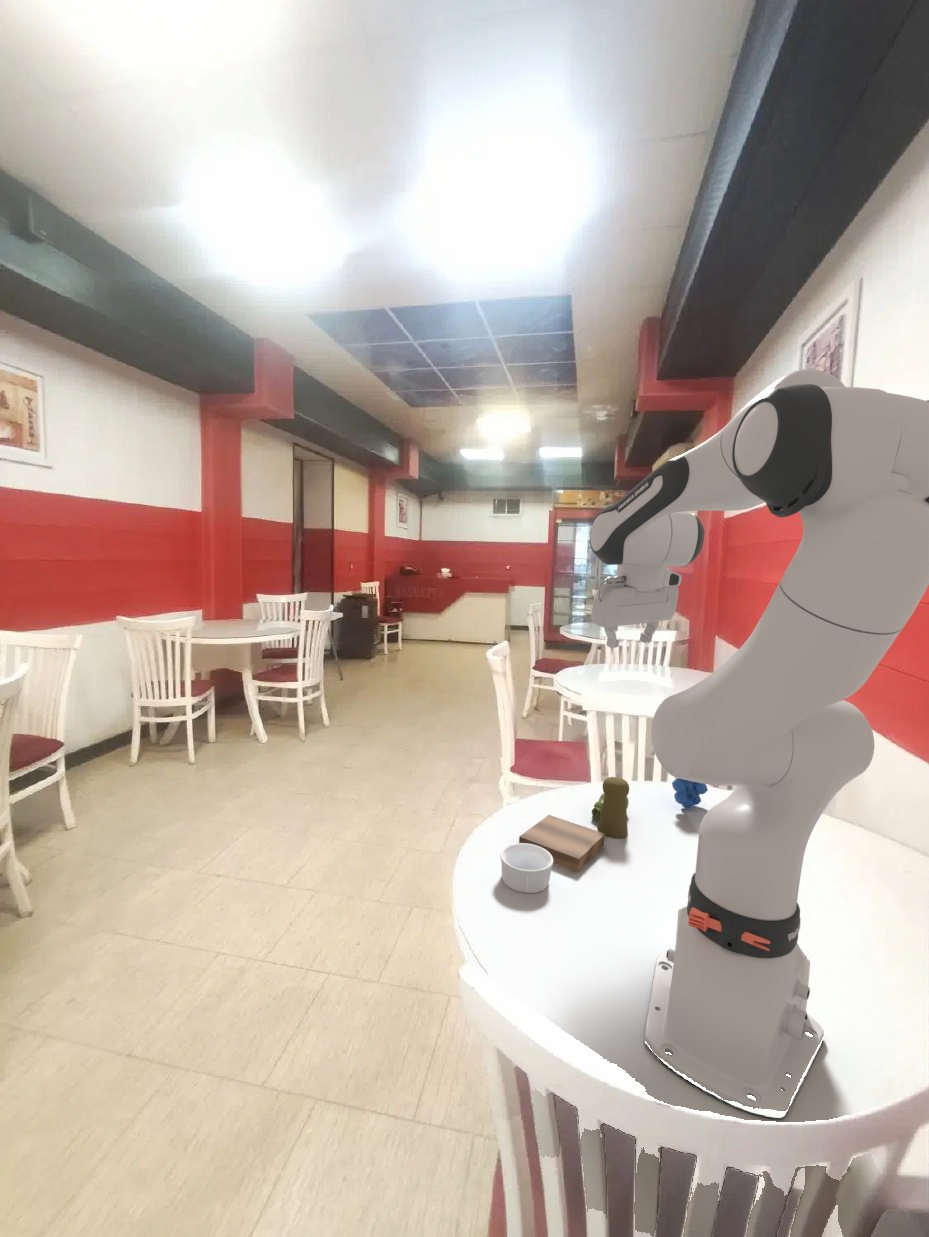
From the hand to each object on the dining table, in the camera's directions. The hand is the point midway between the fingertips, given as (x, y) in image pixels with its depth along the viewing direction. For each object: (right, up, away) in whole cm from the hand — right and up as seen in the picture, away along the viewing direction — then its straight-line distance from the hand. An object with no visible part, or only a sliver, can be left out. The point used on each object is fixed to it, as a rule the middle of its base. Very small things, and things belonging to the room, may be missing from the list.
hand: (629, 644), depth 106 cm
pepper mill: (-2, -39, +4) cm, 39 cm away
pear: (-1, -38, +11) cm, 40 cm away
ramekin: (-22, -39, -15) cm, 48 cm away
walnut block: (-14, -38, -4) cm, 41 cm away
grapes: (+19, -38, +16) cm, 46 cm away
